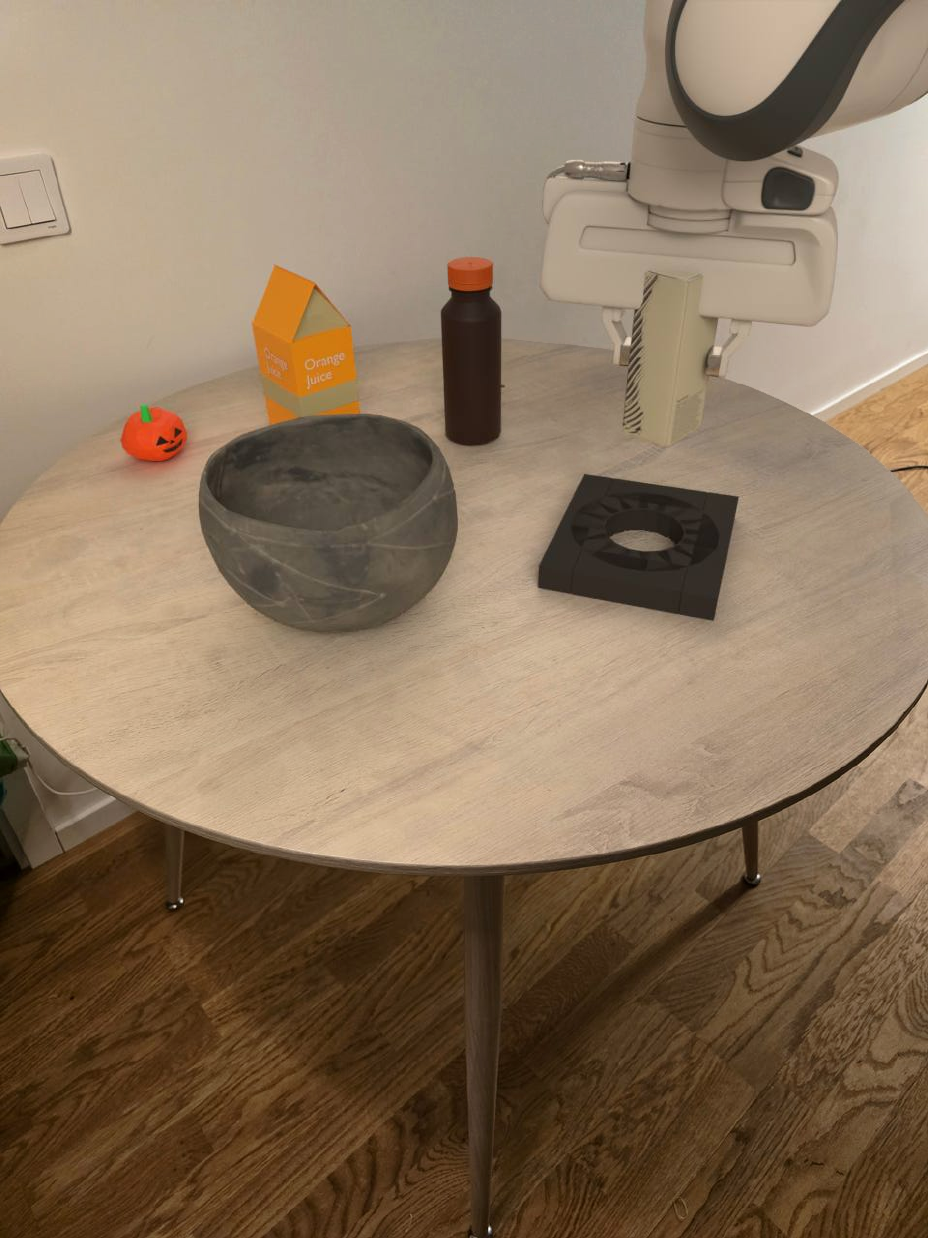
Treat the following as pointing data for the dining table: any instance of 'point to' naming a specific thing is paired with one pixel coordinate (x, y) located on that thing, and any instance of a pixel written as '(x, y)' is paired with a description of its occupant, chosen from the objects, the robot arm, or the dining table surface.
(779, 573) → the dining table surface
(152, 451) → the pumpkin
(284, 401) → the orange juice
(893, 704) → the dining table surface
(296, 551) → the bowl
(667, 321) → the box
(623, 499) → the pad
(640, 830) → the dining table surface
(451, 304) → the bottle
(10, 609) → the dining table surface
